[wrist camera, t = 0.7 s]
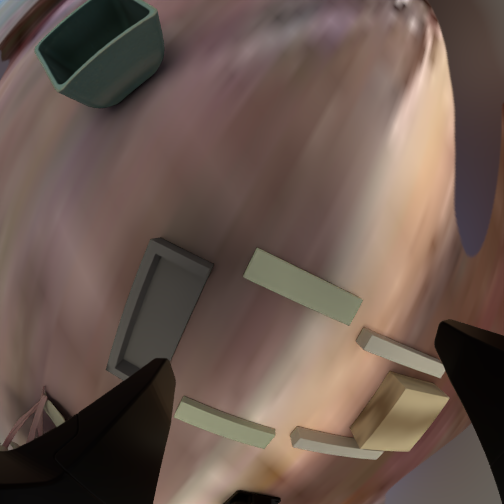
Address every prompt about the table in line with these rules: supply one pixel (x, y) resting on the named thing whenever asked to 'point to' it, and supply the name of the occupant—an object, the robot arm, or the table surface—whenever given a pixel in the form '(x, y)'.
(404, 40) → the table surface
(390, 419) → the maple block
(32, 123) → the table surface
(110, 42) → the flower pot
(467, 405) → the robot arm
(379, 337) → the twin beige slats
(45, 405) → the flower
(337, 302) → the bars
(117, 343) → the tray
